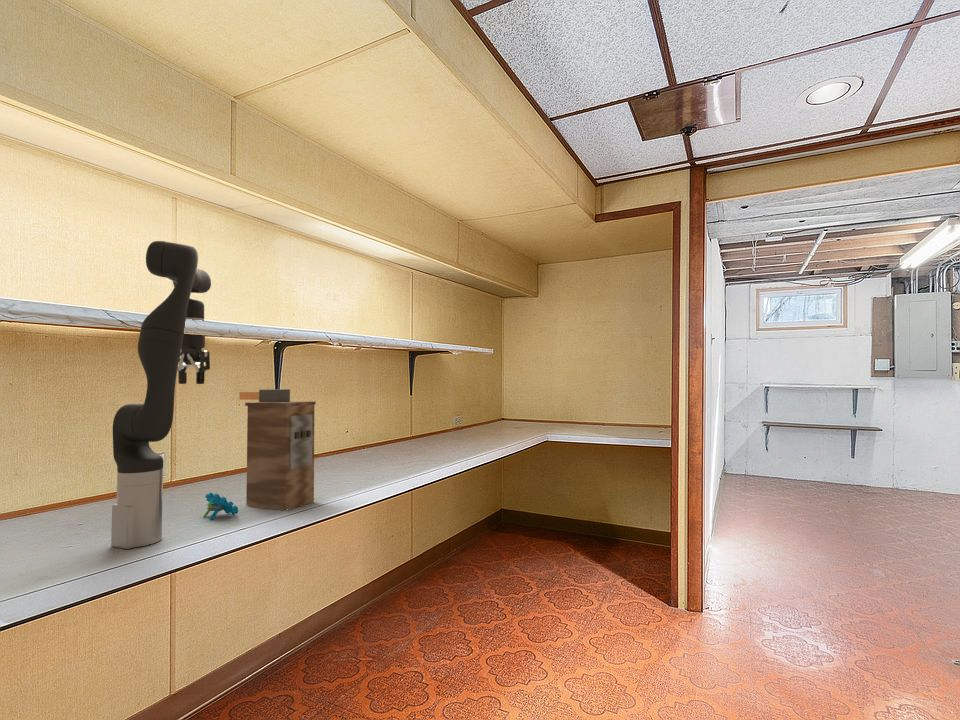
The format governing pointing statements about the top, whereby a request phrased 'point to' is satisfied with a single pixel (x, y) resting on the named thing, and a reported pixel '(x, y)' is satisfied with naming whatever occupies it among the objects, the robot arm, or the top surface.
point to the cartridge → (267, 395)
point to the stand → (280, 454)
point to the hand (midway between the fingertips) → (191, 383)
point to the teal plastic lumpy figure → (219, 505)
